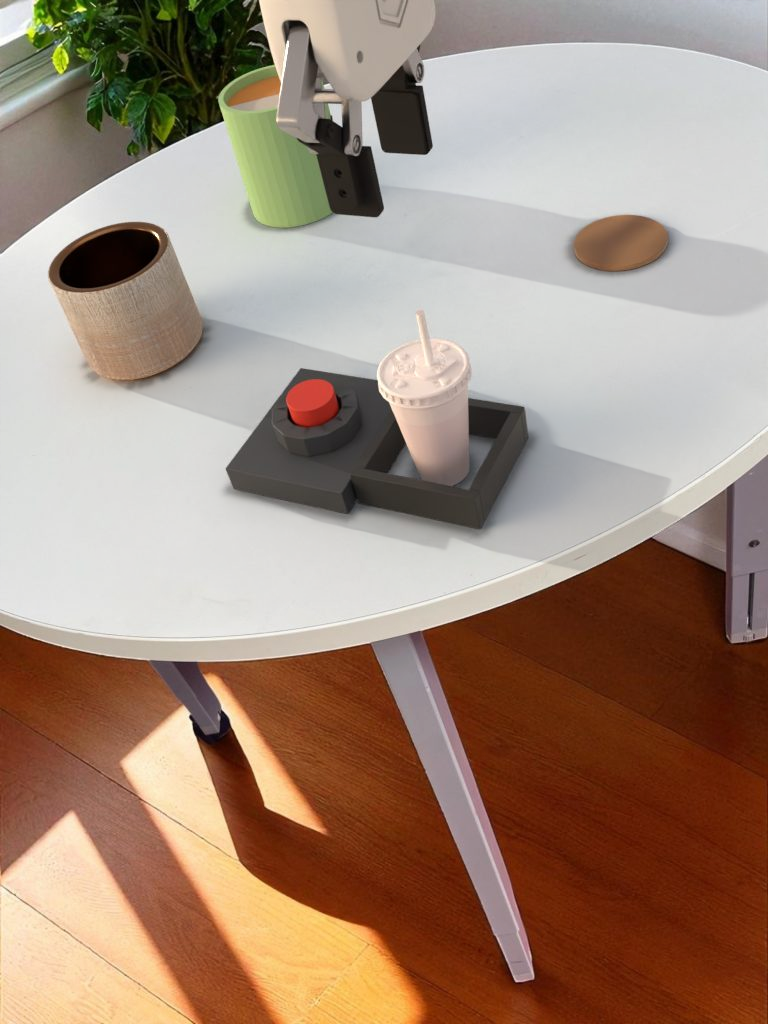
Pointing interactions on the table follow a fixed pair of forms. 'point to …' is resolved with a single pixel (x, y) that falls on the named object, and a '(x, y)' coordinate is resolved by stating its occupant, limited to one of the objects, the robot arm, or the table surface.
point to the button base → (311, 446)
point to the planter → (126, 300)
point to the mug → (272, 153)
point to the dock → (439, 498)
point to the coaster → (620, 242)
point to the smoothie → (430, 403)
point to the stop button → (312, 403)
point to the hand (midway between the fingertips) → (383, 178)
